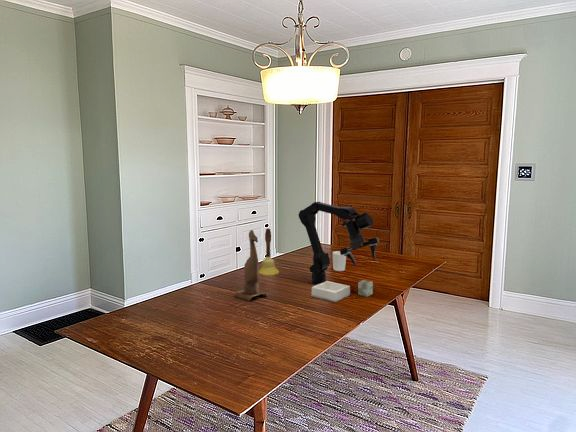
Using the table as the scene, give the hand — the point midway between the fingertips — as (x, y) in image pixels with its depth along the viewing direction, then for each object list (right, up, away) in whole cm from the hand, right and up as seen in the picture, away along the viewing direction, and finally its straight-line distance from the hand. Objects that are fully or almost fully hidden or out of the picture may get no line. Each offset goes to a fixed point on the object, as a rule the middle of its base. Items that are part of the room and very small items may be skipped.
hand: (365, 263), depth 206 cm
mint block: (0, -15, +2) cm, 15 cm away
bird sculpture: (-54, -16, -2) cm, 56 cm away
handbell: (-48, -9, +39) cm, 62 cm away
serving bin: (-17, -15, -1) cm, 22 cm away
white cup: (-7, -9, +44) cm, 46 cm away
